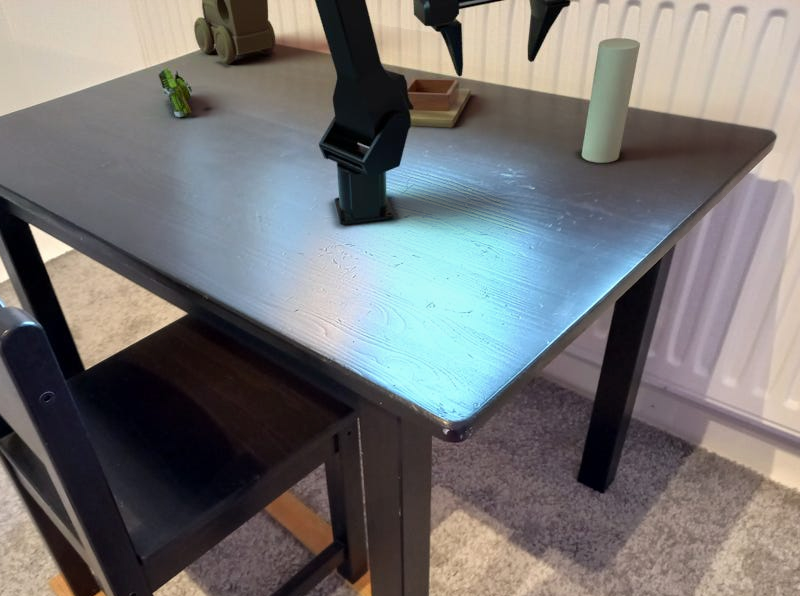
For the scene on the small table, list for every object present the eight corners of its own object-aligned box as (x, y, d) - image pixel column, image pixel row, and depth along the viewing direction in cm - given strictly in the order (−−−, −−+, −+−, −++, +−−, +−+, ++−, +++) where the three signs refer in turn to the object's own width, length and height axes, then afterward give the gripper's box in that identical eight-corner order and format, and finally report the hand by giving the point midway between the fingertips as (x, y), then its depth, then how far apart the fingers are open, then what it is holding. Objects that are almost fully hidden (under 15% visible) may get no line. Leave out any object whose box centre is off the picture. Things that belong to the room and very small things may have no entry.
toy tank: (150, 90, 113) (208, 67, 114) (142, 61, 128) (193, 40, 128) (168, 131, 118) (224, 108, 118) (158, 98, 132) (208, 78, 133)
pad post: (624, 160, 91) (647, 46, 82) (589, 164, 91) (608, 50, 82) (610, 147, 95) (630, 36, 86) (576, 151, 95) (592, 40, 86)
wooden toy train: (284, 58, 141) (274, -36, 131) (233, 70, 137) (218, -25, 127) (241, 39, 155) (229, -47, 145) (193, 50, 151) (177, -37, 141)
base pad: (452, 127, 105) (453, 102, 102) (387, 124, 108) (387, 100, 106) (470, 96, 115) (471, 72, 113) (410, 94, 118) (410, 71, 116)
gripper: (550, -101, 84) (542, 35, 95) (398, -72, 84) (406, 62, 94) (591, -88, 76) (577, 61, 86) (423, -54, 75) (429, 91, 86)
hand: (495, 68), depth 88 cm, fingers open, 9 cm apart
